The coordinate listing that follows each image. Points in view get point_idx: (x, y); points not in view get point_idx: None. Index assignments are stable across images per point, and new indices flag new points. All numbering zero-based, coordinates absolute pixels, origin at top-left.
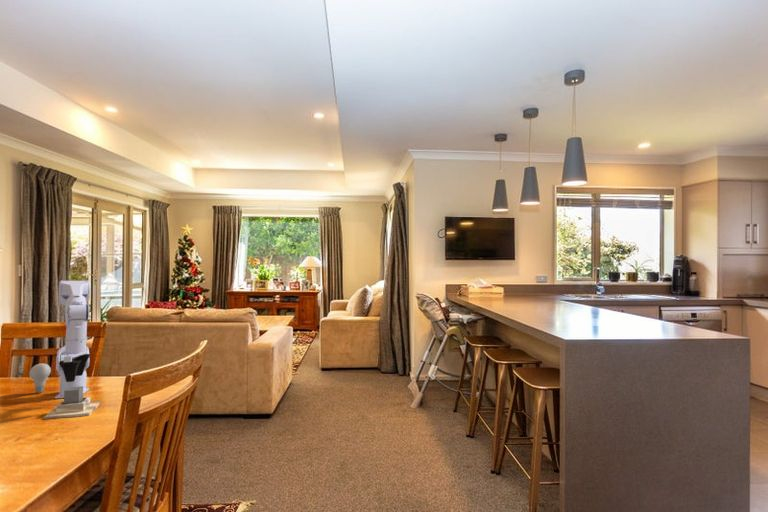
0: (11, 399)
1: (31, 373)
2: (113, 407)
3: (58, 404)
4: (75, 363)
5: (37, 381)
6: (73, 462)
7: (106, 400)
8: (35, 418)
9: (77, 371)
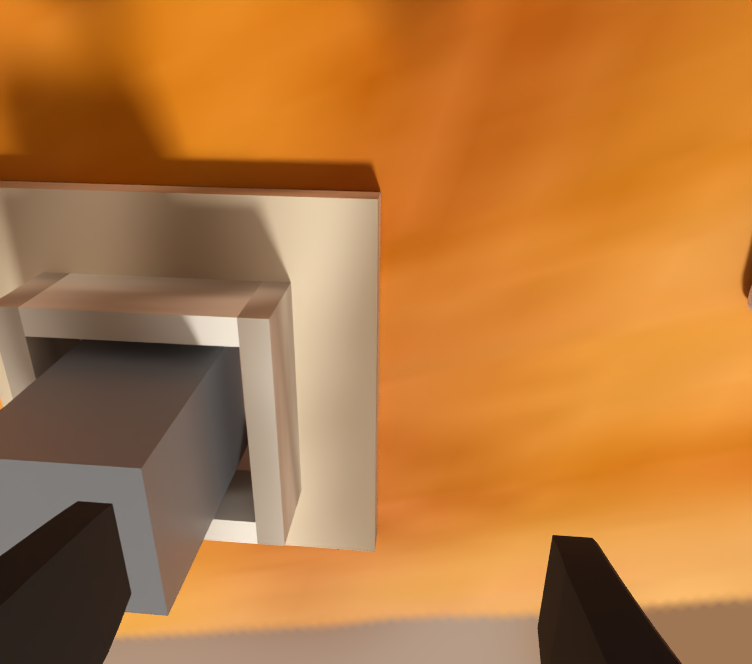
0: None
1: None
2: (228, 626)
3: (38, 309)
4: None
5: None
6: None
7: (463, 560)
8: (8, 71)
9: (565, 654)
